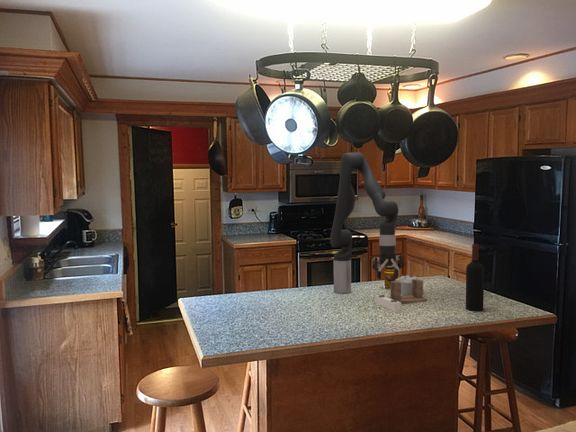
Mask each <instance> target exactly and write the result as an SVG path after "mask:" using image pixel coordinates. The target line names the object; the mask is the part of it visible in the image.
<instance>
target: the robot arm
mask: <svg viewBox="0 0 576 432" xmlns="http://www.w3.org/2000/svg"><path fill="white" fill-rule="evenodd" d="M356 171H357V172H359V173H360V174H361V176H362V177H363V187H364V190H365V193H366V194H367V195H368V197H369V198H370V200H371V201H372V202H371V203H372V205H373V207H374V210H375V213H377V215H378V216H380V217H382V218H384V220H383V221H381V222H380V223H379V240H378V244H379V245H378V248H379V249H378V250H379V252H378V253H379V254H378V255H379V256H377V257H375V256H373V258H372V270H373V271H376V278H377V279H378V280H382V271H381V270H382V269H383V268H385V267H386V266H393V267H394V277H395V278H396V279H398V278H399V270H400V269H403V256H402V255H400V254H397V253H396V252H397V249H396V248H397V246H396V245H397V244H396V243H397V239H396V238H397V237H396V223H397V219H398V216H399V206H398V204H397V202H396V201H393V200H389V201H386V200H385V198H386V193H385V191H384V189H383V188H382V187H381V185H380V184H379V182H378V181H377V179H376V177H375V175H374V173H373V171H372V170H371V167H370V165H369V164H368V161H367V159H366V157H365V156H364V155H363V153H362V152H358V151H355V152H346V153H343V155H342V156H341V159H340V169H339V182H338V183H339V184H338V192H337V196H336V197H337V198H336V205H335V212H334V218H333V223H332V227H331V232H330V236H329V242H330V245H331V247H332V248H336V249H337V248H341V249H340V250H339V251H338V252H336V253H334V255H333V292H334V293H336V294H349V293H351V292H352V255H353V254H352V253H353V250H352V249H353V235H352V232H351V230H350V229H345V228H344V229H343V226H344V223H345V222H346V220H347V219H348V218H349V216H351V214H352V213H353V211H354V208H355V203H356V193H355V190H354V188H353V185H352V182H351V179H352V174H353V172H356ZM396 254H397V255H396ZM395 261H397V263H396V262H395ZM378 262H379V263H378Z"/></svg>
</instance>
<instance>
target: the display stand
mask: <svg viewBox="0 0 576 432" xmlns="http://www.w3.org/2000/svg"><path fill="white" fill-rule="evenodd" d="M387 297H388V298H391V299H393V300H397V301H399V302H401V305H403V304H405V305H406V304H413V303H424V302H428V298H427V297H424V280H422V279H419V278H417V279H412V295H401V283H400V282H398V281H397V280H396V281H391V290H390V296H387Z"/></svg>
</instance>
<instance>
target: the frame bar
mask: <svg viewBox="0 0 576 432" xmlns="http://www.w3.org/2000/svg"><path fill="white" fill-rule="evenodd" d="M388 297H389V296H385V295H384V294H377V295H374V304H376V305H379V306H381V307H383V308H386V309H388V310H390V311H393V312H400V311H402V304H401V302H399V301H397V300H393V299H391V298H388Z"/></svg>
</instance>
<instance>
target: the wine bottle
mask: <svg viewBox="0 0 576 432" xmlns="http://www.w3.org/2000/svg"><path fill="white" fill-rule="evenodd" d="M479 247H480V245H479V244H478V243H472V244H471V261H470V262H469V263H468V264H467V265H466V266H465V267H466V269H465V310H466V311H469V312H483V311H484V301H485V300H484V296H485V295H484V292H485V291H484V289H485V288H484V287H485V285H484V284H485V283H484V282H485V267H484V266H483V264H482V263H481V262H480V261H479V250H480V249H479Z"/></svg>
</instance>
